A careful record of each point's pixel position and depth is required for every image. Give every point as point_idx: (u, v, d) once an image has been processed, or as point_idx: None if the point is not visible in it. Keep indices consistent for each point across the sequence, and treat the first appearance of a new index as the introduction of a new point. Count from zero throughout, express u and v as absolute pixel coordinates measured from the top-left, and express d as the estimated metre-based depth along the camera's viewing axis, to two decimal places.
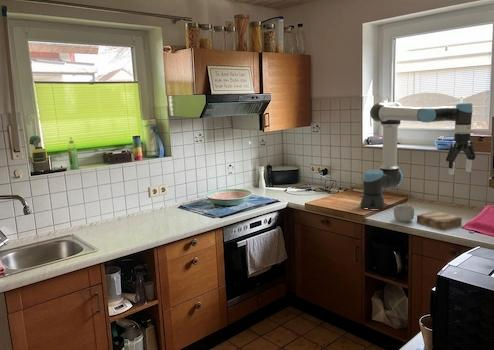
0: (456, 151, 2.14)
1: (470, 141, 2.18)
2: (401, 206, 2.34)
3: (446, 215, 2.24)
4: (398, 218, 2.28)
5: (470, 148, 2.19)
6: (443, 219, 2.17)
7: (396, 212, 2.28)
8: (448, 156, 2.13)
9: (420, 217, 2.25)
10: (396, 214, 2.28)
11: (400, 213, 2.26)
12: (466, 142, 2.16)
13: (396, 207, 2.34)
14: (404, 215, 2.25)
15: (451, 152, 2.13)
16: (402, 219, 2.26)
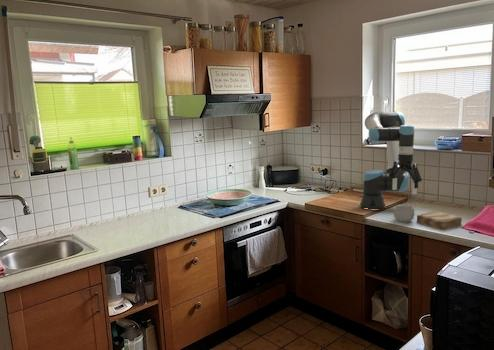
0: None
1: (413, 164, 2.21)
2: (401, 206, 2.34)
3: (446, 215, 2.24)
4: (398, 218, 2.28)
5: None
6: (443, 219, 2.17)
7: (396, 212, 2.28)
8: None
9: (420, 217, 2.25)
10: (396, 214, 2.28)
11: (400, 213, 2.26)
12: (407, 163, 2.24)
13: (396, 207, 2.34)
14: (404, 215, 2.25)
15: None
16: (402, 219, 2.26)
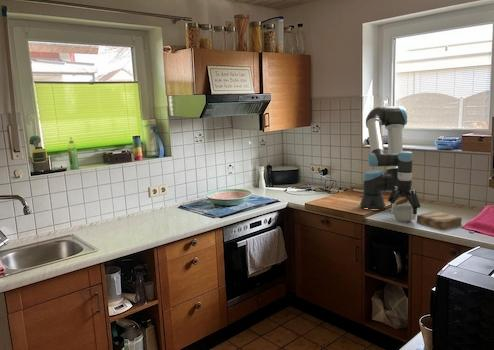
0: None
1: (412, 190, 2.23)
2: (401, 206, 2.34)
3: (446, 215, 2.24)
4: (398, 218, 2.28)
5: None
6: (443, 219, 2.17)
7: (396, 212, 2.28)
8: None
9: (420, 217, 2.25)
10: (396, 214, 2.28)
11: (400, 213, 2.26)
12: (405, 189, 2.27)
13: (396, 207, 2.34)
14: (404, 215, 2.25)
15: None
16: (402, 219, 2.26)
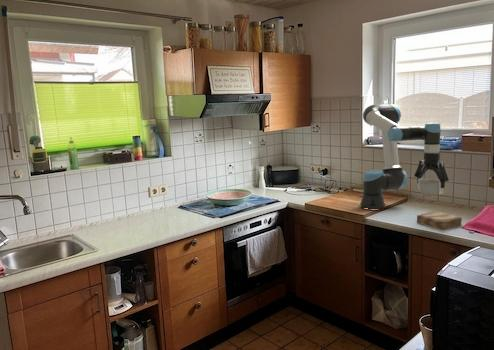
0: None
1: None
2: (428, 180, 2.25)
3: (446, 215, 2.24)
4: (425, 192, 2.19)
5: None
6: (443, 219, 2.17)
7: (422, 185, 2.19)
8: None
9: (420, 217, 2.25)
10: (422, 188, 2.19)
11: (427, 186, 2.17)
12: (433, 162, 2.18)
13: (422, 181, 2.25)
14: (431, 188, 2.16)
15: None
16: (429, 193, 2.17)
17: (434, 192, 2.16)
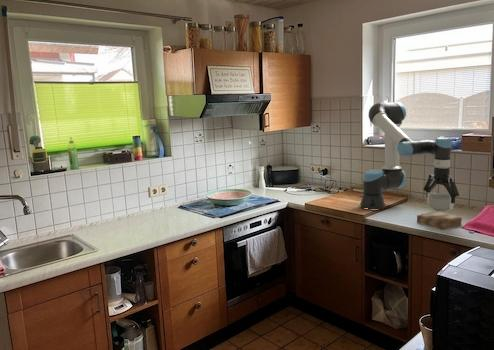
0: None
1: (450, 178, 2.14)
2: (437, 194, 2.25)
3: (446, 215, 2.24)
4: (435, 207, 2.18)
5: None
6: (443, 219, 2.17)
7: (433, 200, 2.19)
8: None
9: (420, 217, 2.25)
10: (433, 202, 2.19)
11: (437, 201, 2.17)
12: (443, 177, 2.17)
13: (432, 195, 2.24)
14: (441, 203, 2.16)
15: None
16: (439, 208, 2.17)
17: (444, 207, 2.16)
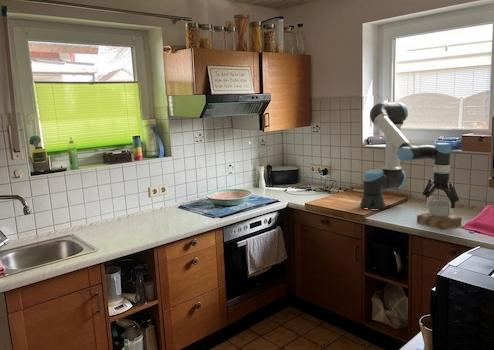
0: None
1: (450, 183, 2.15)
2: (437, 201, 2.26)
3: None
4: (434, 213, 2.19)
5: None
6: (443, 219, 2.17)
7: (432, 207, 2.19)
8: None
9: (420, 217, 2.25)
10: (432, 209, 2.20)
11: (437, 208, 2.17)
12: (443, 182, 2.18)
13: (432, 202, 2.25)
14: (441, 210, 2.17)
15: None
16: (439, 214, 2.18)
17: (444, 214, 2.17)
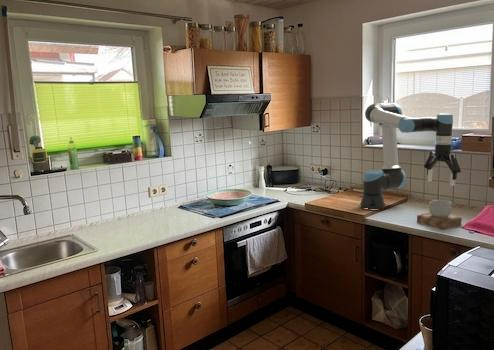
0: None
1: (452, 154, 2.12)
2: (437, 201, 2.26)
3: None
4: (434, 213, 2.19)
5: None
6: (443, 219, 2.17)
7: (432, 207, 2.19)
8: None
9: (420, 217, 2.25)
10: (432, 209, 2.20)
11: (437, 208, 2.18)
12: (444, 153, 2.15)
13: (432, 202, 2.25)
14: (441, 210, 2.17)
15: None
16: (439, 214, 2.18)
17: (444, 214, 2.17)
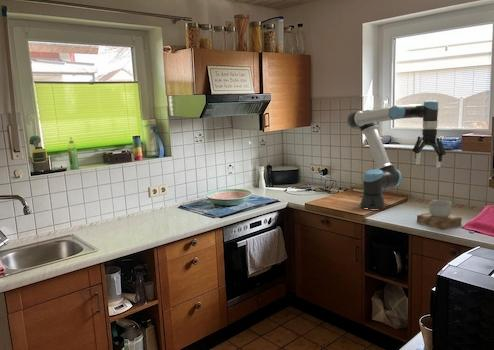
0: None
1: (437, 138, 2.29)
2: (437, 201, 2.26)
3: None
4: (434, 213, 2.19)
5: None
6: (443, 219, 2.17)
7: (432, 207, 2.19)
8: None
9: (420, 217, 2.25)
10: (432, 209, 2.20)
11: (437, 208, 2.17)
12: (431, 137, 2.32)
13: (432, 202, 2.25)
14: (441, 210, 2.17)
15: None
16: (439, 214, 2.18)
17: (444, 214, 2.17)
